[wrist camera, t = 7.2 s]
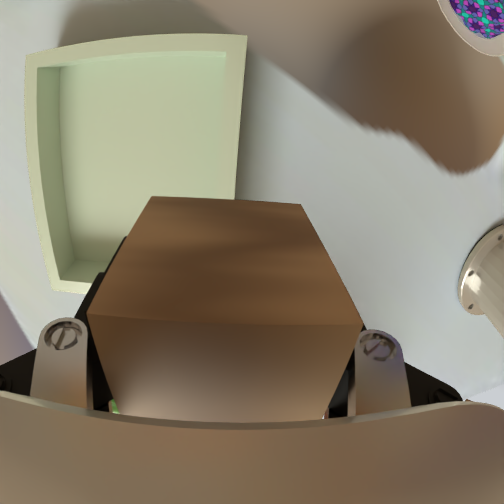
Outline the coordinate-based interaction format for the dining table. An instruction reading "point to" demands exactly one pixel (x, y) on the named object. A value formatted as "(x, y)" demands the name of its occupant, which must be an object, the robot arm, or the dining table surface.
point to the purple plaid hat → (477, 23)
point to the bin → (126, 138)
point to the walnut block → (223, 314)
